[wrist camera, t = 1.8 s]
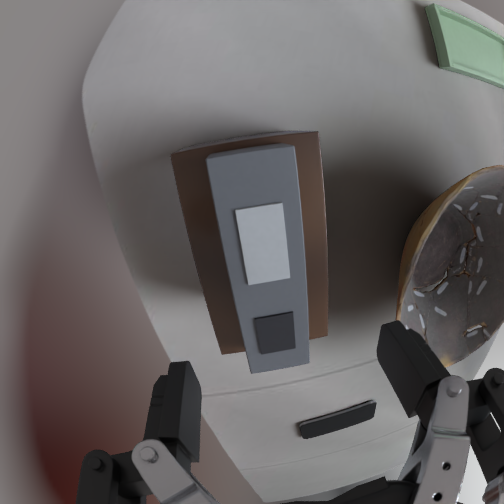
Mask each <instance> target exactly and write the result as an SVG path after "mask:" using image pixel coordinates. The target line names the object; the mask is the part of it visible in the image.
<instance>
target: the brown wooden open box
mask: <svg viewBox="0 0 504 504" xmlns="http://www.w3.org/2000/svg"><path fill="white" fill-rule="evenodd" d="M278 143H284V144H289V145H293V146H294V147H295V154H296V162H297V171H298V180H299V189H300V199H301V210H302V221H303V233H304V246H305V260H306V276H307V295H308V318H309V340H310V339H315V338H320V337H324V336H327V335H328V249H327V225H326V207H325V192H324V179H323V168H322V157H321V148H320V139H319V132H318V131H281V132H273V133H264V134H257V135H250V136H243V137H237V138H231V139H225V140H219V141H213V142H208V143H203V144H198V145H193V146H189V147H187V148H184V149H182V150H179V151H177V152H174V153H172V154H171V160H172V165H173V170H174V175H175V180H176V185H177V189H178V194H179V198H180V203H181V207H182V211H183V216H184V220H185V224H186V228H187V232H188V237H189V241H190V245H191V249H192V252H193V256H194V260H195V264H196V268H197V272H198V275H199V279H200V283H201V286H202V290H203V293H204V297H205V301H206V304H207V308H208V311H209V314H210V318H211V321H212V325H213V328H214V331H215V334H216V338H217V341H218V344H219V347H220V350H221V354H222V355H223V354H231V353H238V352H244V351H245V346H244V342H243V338H242V334H241V329H240V325H239V321H238V316H237V312H236V307H235V303H234V298H233V294H232V289H231V285H230V280H229V276H228V271H227V266H226V262H225V257H224V252H223V247H222V242H221V238H220V233H219V228H218V223H217V218H216V213H215V208H214V202H213V197H212V192H211V187H210V182H209V176H208V171H207V166H206V158H207V157H208V156H209V155H210V154H213V153H218V152H224V151H230V150H236V149H242V148H248V147H255V146H262V145H270V144H278Z"/></svg>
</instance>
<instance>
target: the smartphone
mask: <svg viewBox="0 0 504 504" xmlns="http://www.w3.org/2000/svg"><path fill="white" fill-rule="evenodd" d="M375 409H376V401H370V402H367V403H364V404H361V405H359V406H356V407H353V408H350V409H347V410H344V411H341V412H337V413H334V414H331V415H327V416H324V417H321V418H317V419H313V420H309V421H306V422H302V423H301V424H300V425H299V426H300V430H301V434H302V437H303V439H309V438H313V437H316V436H320V435H324V434H327V433H331V432H334V431H337V430H340V429H344V428H347V427H350V426H353V425H356V424H359V423H361V422H364V421H367V420H370V419H371V418H373V417H374V414H375Z"/></svg>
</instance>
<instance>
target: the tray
mask: <svg viewBox="0 0 504 504" xmlns="http://www.w3.org/2000/svg"><path fill="white" fill-rule="evenodd" d="M425 11H426V14H427V17H428V21H429V24H430V28H431V31H432V35H433V39H434V43H435V48H436V52H437V57H438V62H439V67H440V68H441V69H445V70H449V71H453V72H456V73H460V74H463V75H466V76H469V77H473V78H476V79H479V80H481V81H484V82H487V83H490V84H493V85H495V86H498V87H500V88H503V89H504V38H503V37H501V36H500V35H498V34H496V33H495V32H493V31H491V30H489V29H488V28H486V27H484V26H482V25H480V24H478V23H476V22H474V21H472V20H470V19H468V18H466V17H464V16H462V15H460V14H458V13H455V12H453V11H451V10H449V9H446V8H444V7H441V6H439V5H436V4H431V5H429V6H427V7H425Z"/></svg>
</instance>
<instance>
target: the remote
mask: <svg viewBox="0 0 504 504" xmlns="http://www.w3.org/2000/svg"><path fill="white" fill-rule="evenodd" d="M206 166H207V171H208V176H209V182H210V187H211V192H212V197H213V202H214V208H215V213H216V218H217V223H218V228H219V233H220V238H221V242H222V247H223V252H224V257H225V262H226V266H227V271H228V276H229V280H230V285H231V289H232V294H233V298H234V303H235V307H236V312H237V316H238V321H239V325H240V329H241V334H242V338H243V342H244V346H245V351H246V355H247V359H248V363H249V367H250V371H251V374H253V373H260V372H266V371H272V370H277V369H283V368H288V367H293V366H298V365H303V364H308V363H309V362H310V354H309V318H308V295H307V276H306V260H305V246H304V233H303V221H302V210H301V199H300V189H299V180H298V171H297V162H296V154H295V147H294V146H293V145H289V144H284V143H278V144H270V145H262V146H255V147H248V148H242V149H236V150H230V151H224V152H218V153H213V154H210V155H209V156H208V157H207V158H206Z"/></svg>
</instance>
